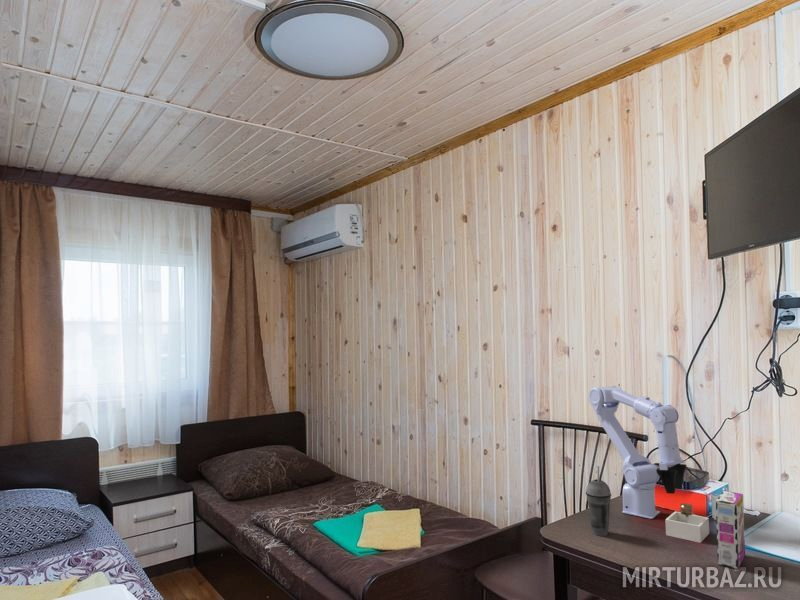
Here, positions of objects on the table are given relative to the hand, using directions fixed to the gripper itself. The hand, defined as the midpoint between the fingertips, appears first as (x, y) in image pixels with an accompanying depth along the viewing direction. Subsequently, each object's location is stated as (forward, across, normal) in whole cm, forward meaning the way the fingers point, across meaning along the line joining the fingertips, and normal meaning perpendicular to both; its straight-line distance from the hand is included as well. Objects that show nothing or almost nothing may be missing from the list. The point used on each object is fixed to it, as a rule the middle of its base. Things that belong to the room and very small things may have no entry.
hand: (674, 491), depth 170 cm
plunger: (+11, -4, -3) cm, 12 cm away
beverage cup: (+10, -19, +17) cm, 27 cm away
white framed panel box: (+11, -4, -3) cm, 12 cm away
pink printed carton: (+14, -16, -17) cm, 27 cm away
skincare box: (+11, +15, -9) cm, 21 cm away
